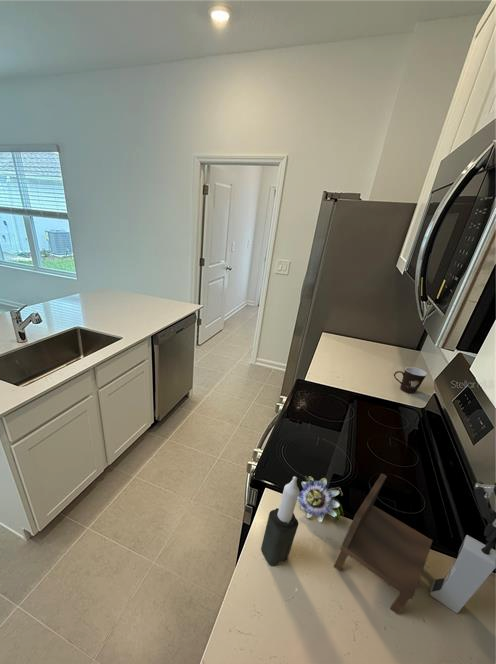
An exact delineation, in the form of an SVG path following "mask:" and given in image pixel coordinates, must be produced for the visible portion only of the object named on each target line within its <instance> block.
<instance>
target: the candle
mask: <svg viewBox="0 0 496 664" xmlns="http://www.w3.org/2000/svg"><path fill="white" fill-rule="evenodd" d="M297 481H298V477H297V476H294V475H293V476H292V479H291V481H290V482H288V483H286V484H285V485H284V487H283V491H282V495H281V499H280V502H279V503H280V504H279V506H278V508H277V507H276V508H275V509H273V510H270V511H269V513H268V518H267V522H266V525H265V529H264V534H263V539H262V543H261V547H260V551H261V553H262V555H263V557H264V558H265V561H266V562H267V564H268V565H269V566H271V567H275V566H276V565H278V564H281V563H286V562H287V561H288V558H289V556H290V552H291V550H292V546H293V543H294V540H295V536H296V533H297V531H298V527H299V521H298V518H297V517H296V515H295V513H294V511H295V507H296V504H297V502H298V500H297V498H298V495H299V492H300V488H299V487H298V483H297Z"/></svg>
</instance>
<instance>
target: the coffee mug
mask: <svg viewBox="0 0 496 664" xmlns="http://www.w3.org/2000/svg"><path fill="white" fill-rule="evenodd" d="M398 373H400V374H402V379H401V381H400V380H399V379H398V378H397V377H396V375H397V374H398ZM427 375H428V373H427V372H426V371H425V370H423V369H420V368H419V367H414V366H407V367H405V368H404V372H403V371H401V370H397V371H395V372H394V373H393V377H394V379H395V380H396V381H397V382H398V383H399V384H400V387H399V389H400V390H401V391H402V392H404V393H406V394H411V395H414V394H416V392H417V391H418V389H419V388H420V386H421V384H422V383H423V381H424V380H425V379H426V377H427Z"/></svg>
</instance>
